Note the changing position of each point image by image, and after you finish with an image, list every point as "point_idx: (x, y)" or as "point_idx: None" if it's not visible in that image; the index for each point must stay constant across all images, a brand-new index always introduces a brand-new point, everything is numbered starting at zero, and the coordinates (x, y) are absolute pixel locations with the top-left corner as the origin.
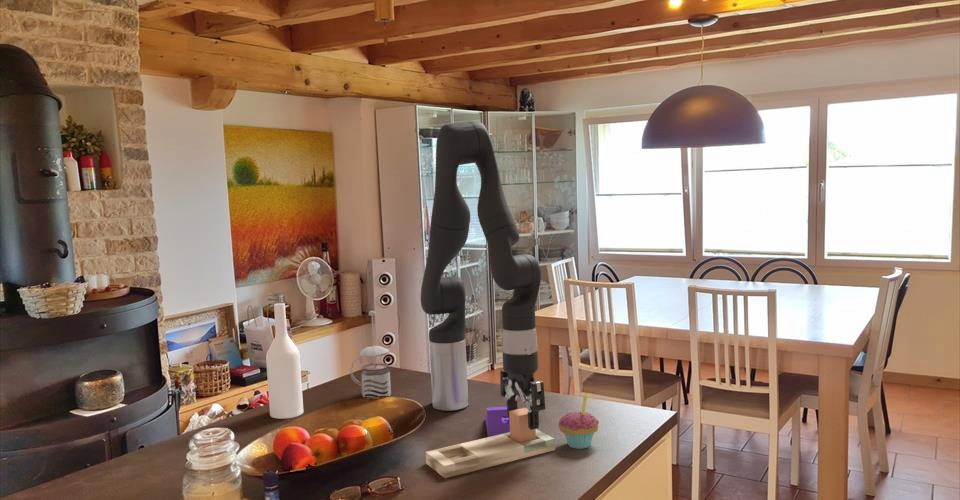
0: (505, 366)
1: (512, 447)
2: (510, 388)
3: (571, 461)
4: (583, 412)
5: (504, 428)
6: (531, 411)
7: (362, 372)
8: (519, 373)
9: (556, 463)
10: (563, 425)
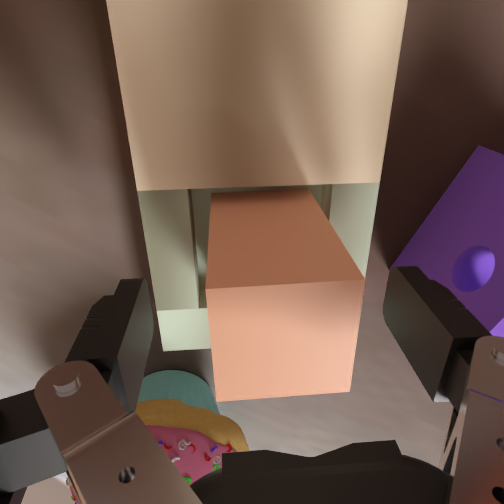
0: None
1: (148, 123)
2: (459, 495)
3: (25, 311)
4: None
5: (450, 238)
6: (48, 379)
7: None
8: None
9: (25, 256)
10: None
